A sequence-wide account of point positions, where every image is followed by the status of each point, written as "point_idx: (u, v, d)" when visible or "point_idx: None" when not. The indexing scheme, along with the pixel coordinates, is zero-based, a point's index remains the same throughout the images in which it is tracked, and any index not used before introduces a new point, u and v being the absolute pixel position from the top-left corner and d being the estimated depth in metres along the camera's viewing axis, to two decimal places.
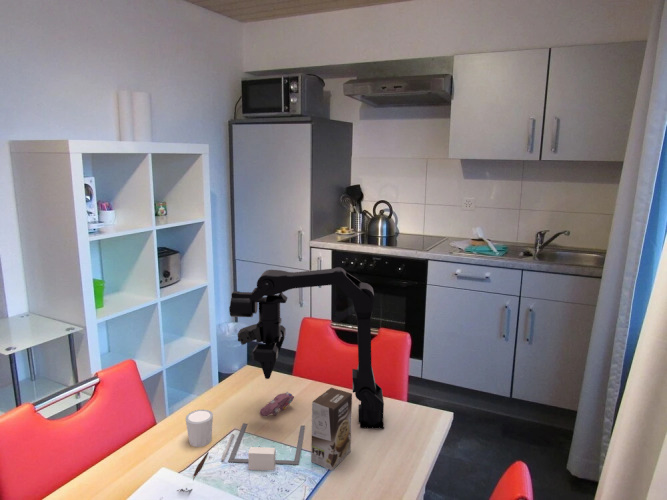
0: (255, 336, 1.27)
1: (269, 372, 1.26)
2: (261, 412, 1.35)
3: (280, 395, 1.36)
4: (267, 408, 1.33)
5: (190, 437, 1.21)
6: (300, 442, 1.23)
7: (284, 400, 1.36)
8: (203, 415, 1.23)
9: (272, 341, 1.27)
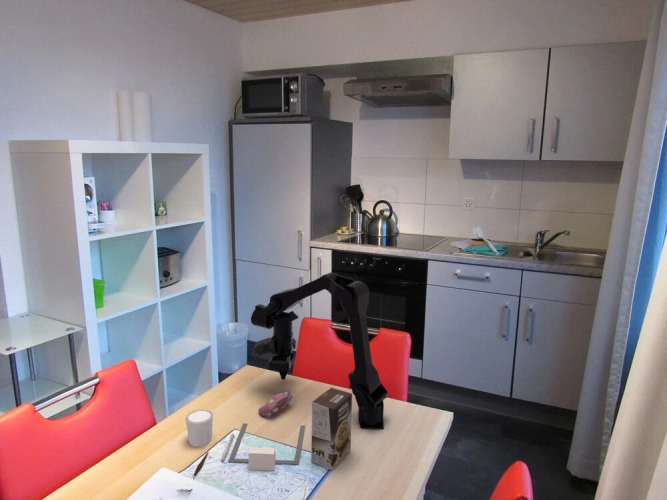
0: (270, 348, 1.43)
1: (285, 374, 1.46)
2: (260, 411, 1.35)
3: (279, 395, 1.37)
4: (266, 408, 1.34)
5: (190, 437, 1.21)
6: (300, 442, 1.23)
7: (283, 400, 1.37)
8: (203, 415, 1.23)
9: (285, 353, 1.43)
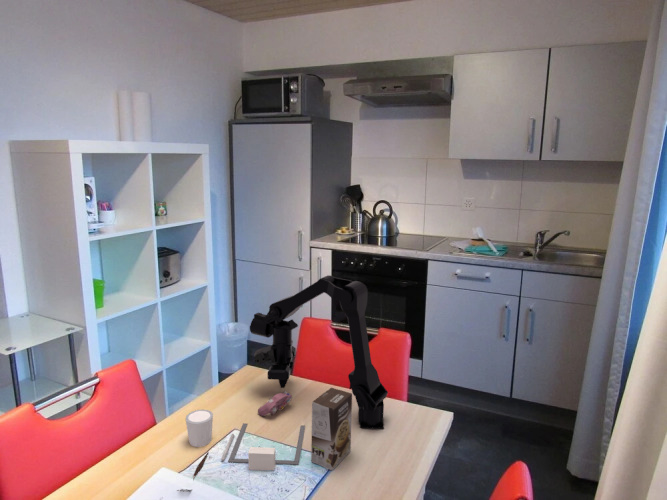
0: (269, 357, 1.43)
1: (284, 382, 1.46)
2: (259, 411, 1.36)
3: (278, 394, 1.37)
4: (265, 408, 1.34)
5: (190, 437, 1.21)
6: (300, 442, 1.23)
7: (282, 399, 1.37)
8: (203, 415, 1.23)
9: (285, 361, 1.43)
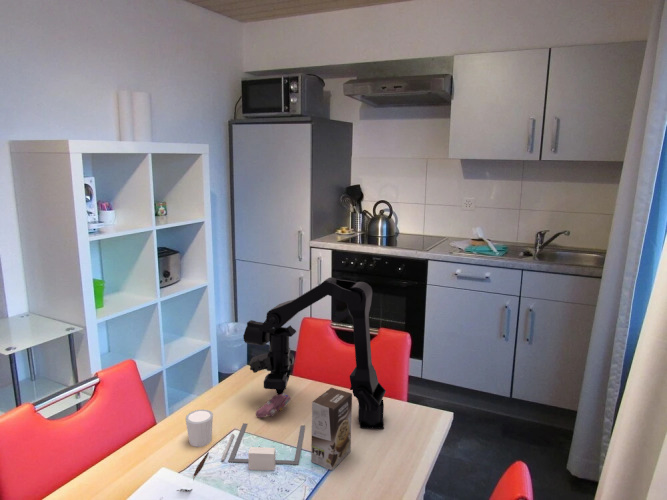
0: (266, 365, 1.37)
1: (281, 391, 1.40)
2: (257, 413, 1.34)
3: (276, 396, 1.35)
4: (263, 409, 1.33)
5: (190, 437, 1.21)
6: (300, 442, 1.23)
7: (280, 401, 1.36)
8: (203, 415, 1.23)
9: (282, 370, 1.37)
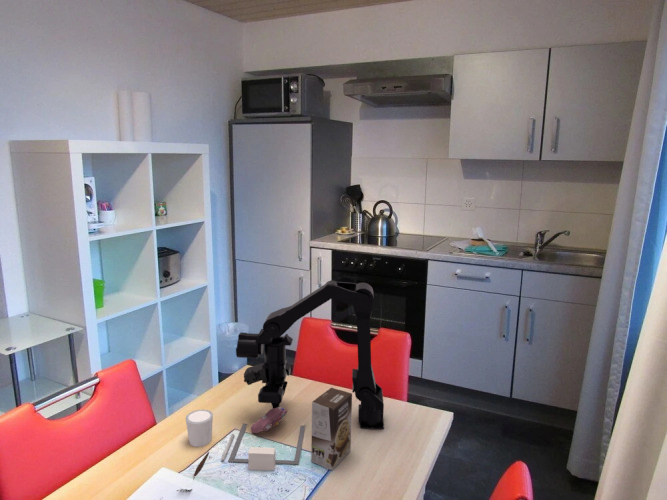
0: (261, 377, 1.30)
1: (277, 404, 1.33)
2: (252, 428, 1.27)
3: (272, 410, 1.28)
4: (258, 425, 1.25)
5: (190, 437, 1.21)
6: (300, 442, 1.23)
7: (277, 415, 1.28)
8: (203, 415, 1.23)
9: (277, 382, 1.30)
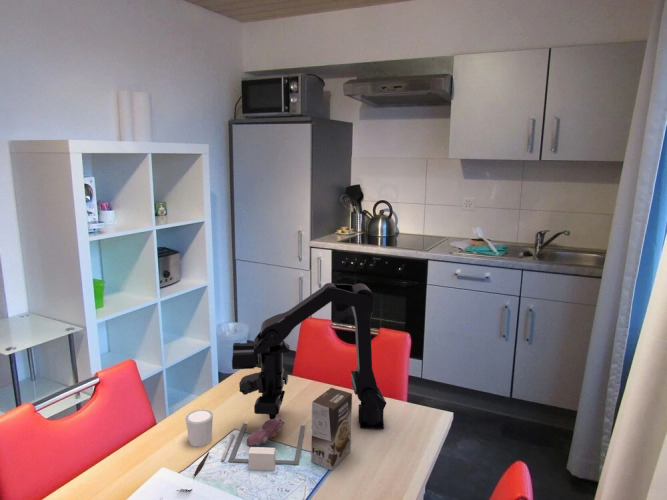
0: (257, 387, 1.24)
1: (274, 414, 1.28)
2: (248, 441, 1.22)
3: (269, 421, 1.23)
4: (255, 437, 1.20)
5: (190, 437, 1.21)
6: (300, 442, 1.23)
7: (274, 427, 1.23)
8: (203, 415, 1.23)
9: (274, 392, 1.25)
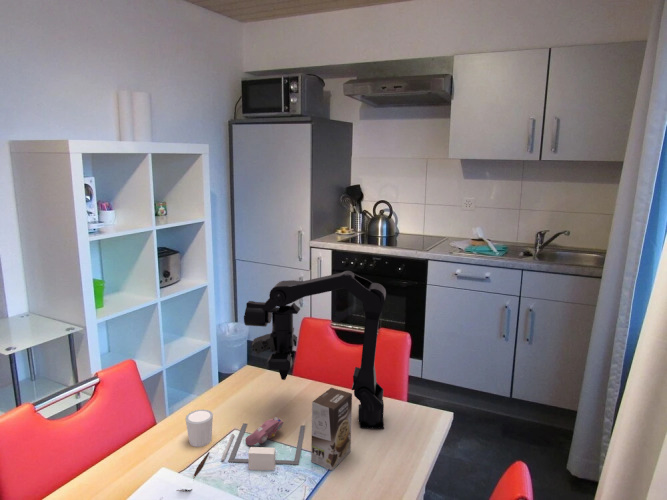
0: (269, 346, 1.30)
1: (285, 373, 1.33)
2: (247, 441, 1.22)
3: (268, 421, 1.23)
4: (254, 437, 1.20)
5: (190, 437, 1.21)
6: (300, 442, 1.23)
7: (272, 427, 1.23)
8: (203, 415, 1.23)
9: (285, 350, 1.30)
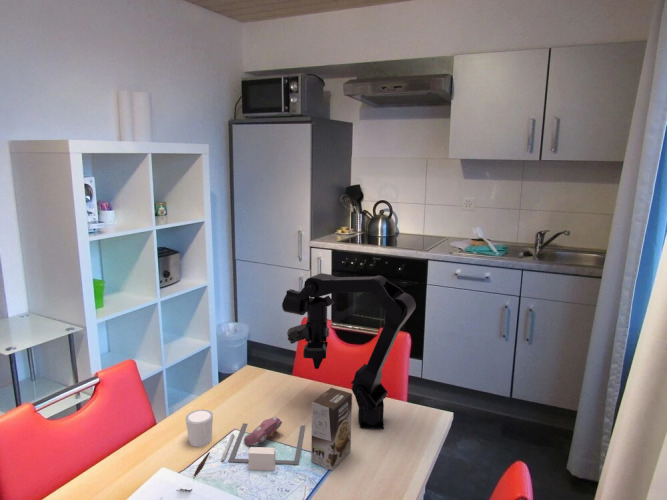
0: (304, 335, 1.35)
1: (319, 363, 1.38)
2: (246, 440, 1.22)
3: (267, 421, 1.23)
4: (252, 436, 1.20)
5: (190, 437, 1.21)
6: (300, 442, 1.23)
7: (271, 426, 1.23)
8: (203, 415, 1.23)
9: (320, 340, 1.35)
